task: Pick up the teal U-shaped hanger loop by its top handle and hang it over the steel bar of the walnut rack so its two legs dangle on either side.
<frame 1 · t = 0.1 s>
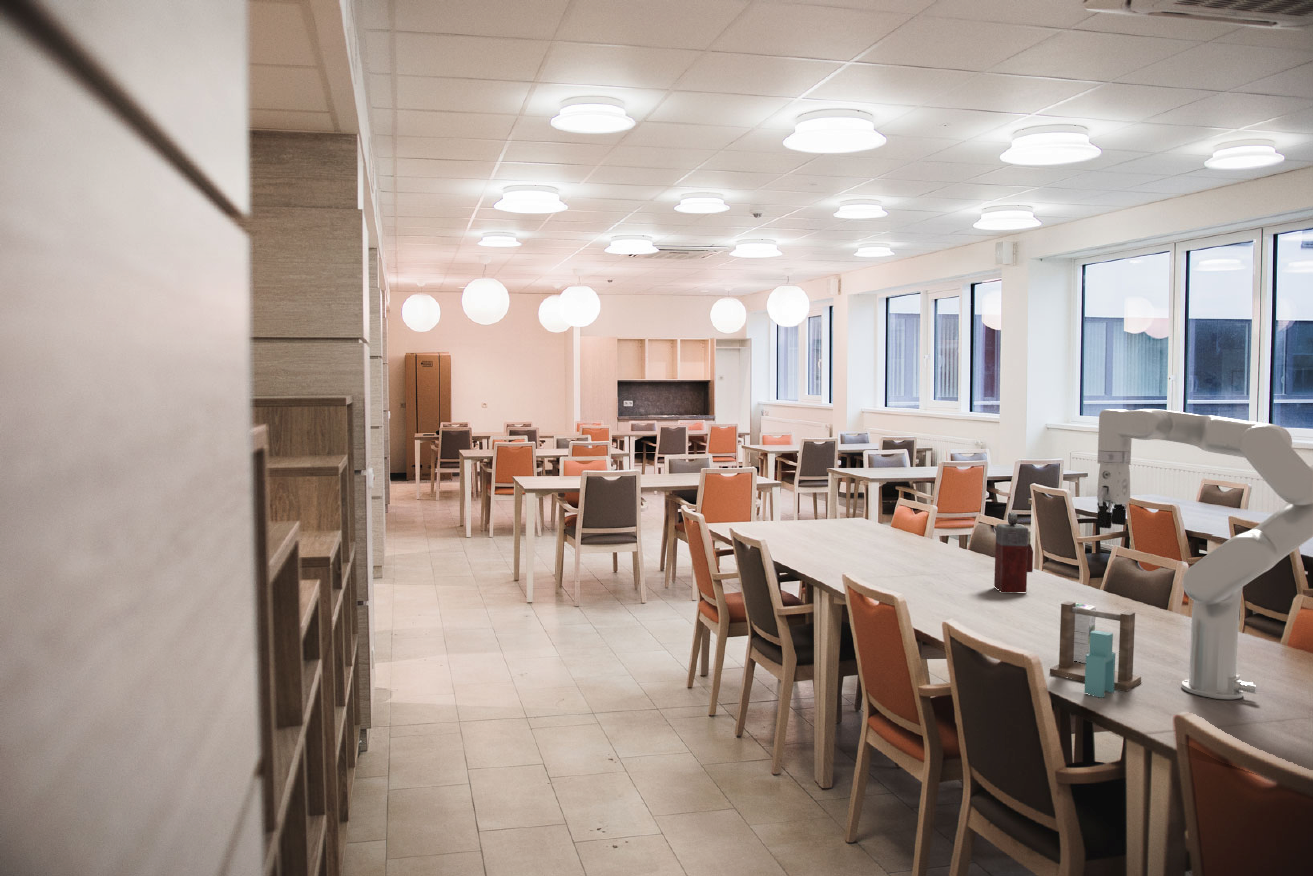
hand: (1111, 526, 237), 37 cm above the table, tool pointing down, fingers open, 9 cm apart
hanger loop: (1099, 692, 220), on the table
syrup box: (1079, 660, 247), on the table
hanger rack: (1094, 678, 231), on the table
dark red lidded canister: (1013, 591, 336), on the table
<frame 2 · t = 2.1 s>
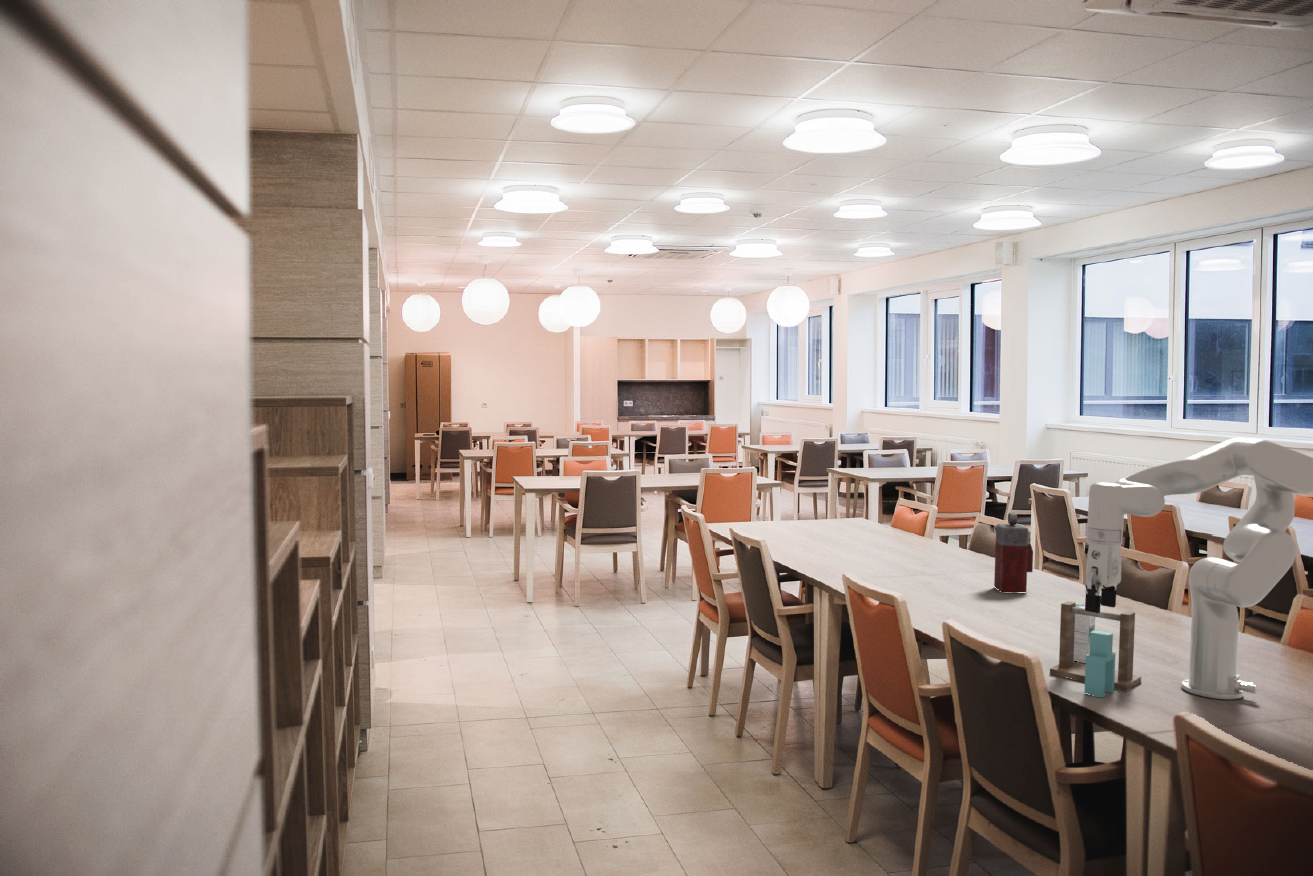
hand: (1100, 609, 219), 20 cm above the table, tool pointing down, fingers open, 9 cm apart
nothing on the table moved.
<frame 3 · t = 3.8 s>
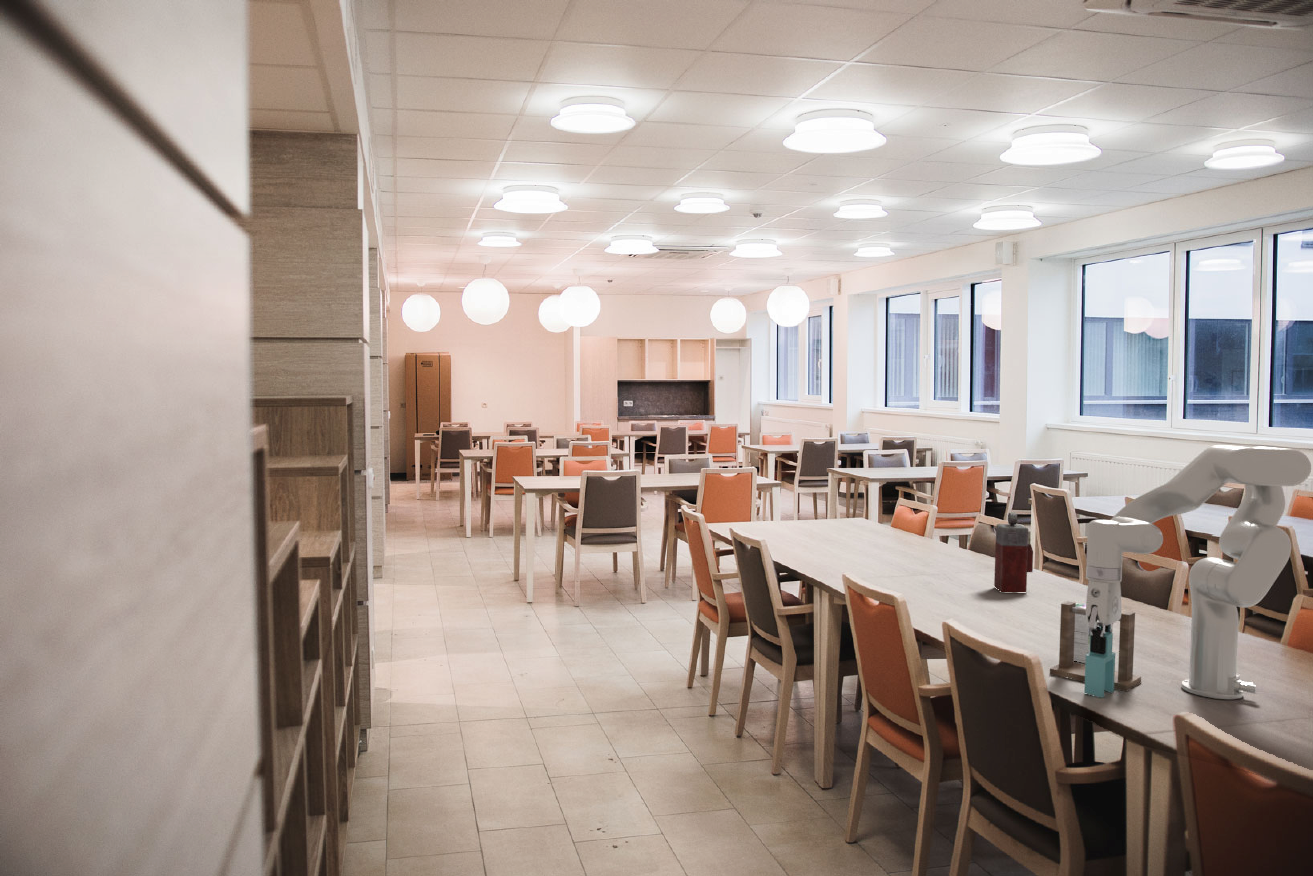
hand: (1100, 651, 219), 10 cm above the table, tool pointing down, fingers closed on hanger loop, 3 cm apart
hanger loop: (1099, 692, 220), on the table, touching gripper
everything else where it was.
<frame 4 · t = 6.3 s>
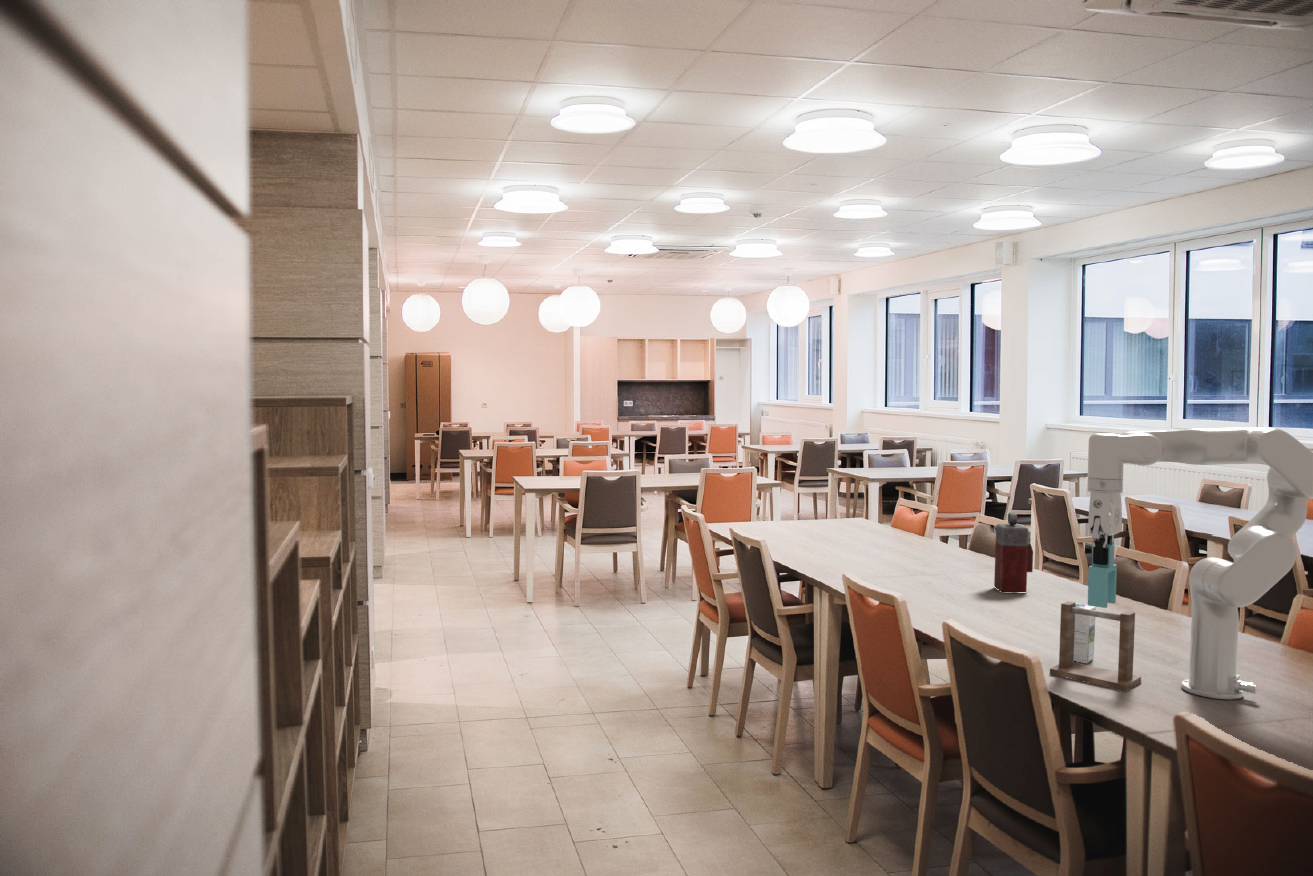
hand: (1103, 562, 223), 30 cm above the table, tool pointing down, fingers closed on hanger loop, 3 cm apart
hanger loop: (1101, 604, 223), point 20 cm above the table, touching gripper
everything else where it was.
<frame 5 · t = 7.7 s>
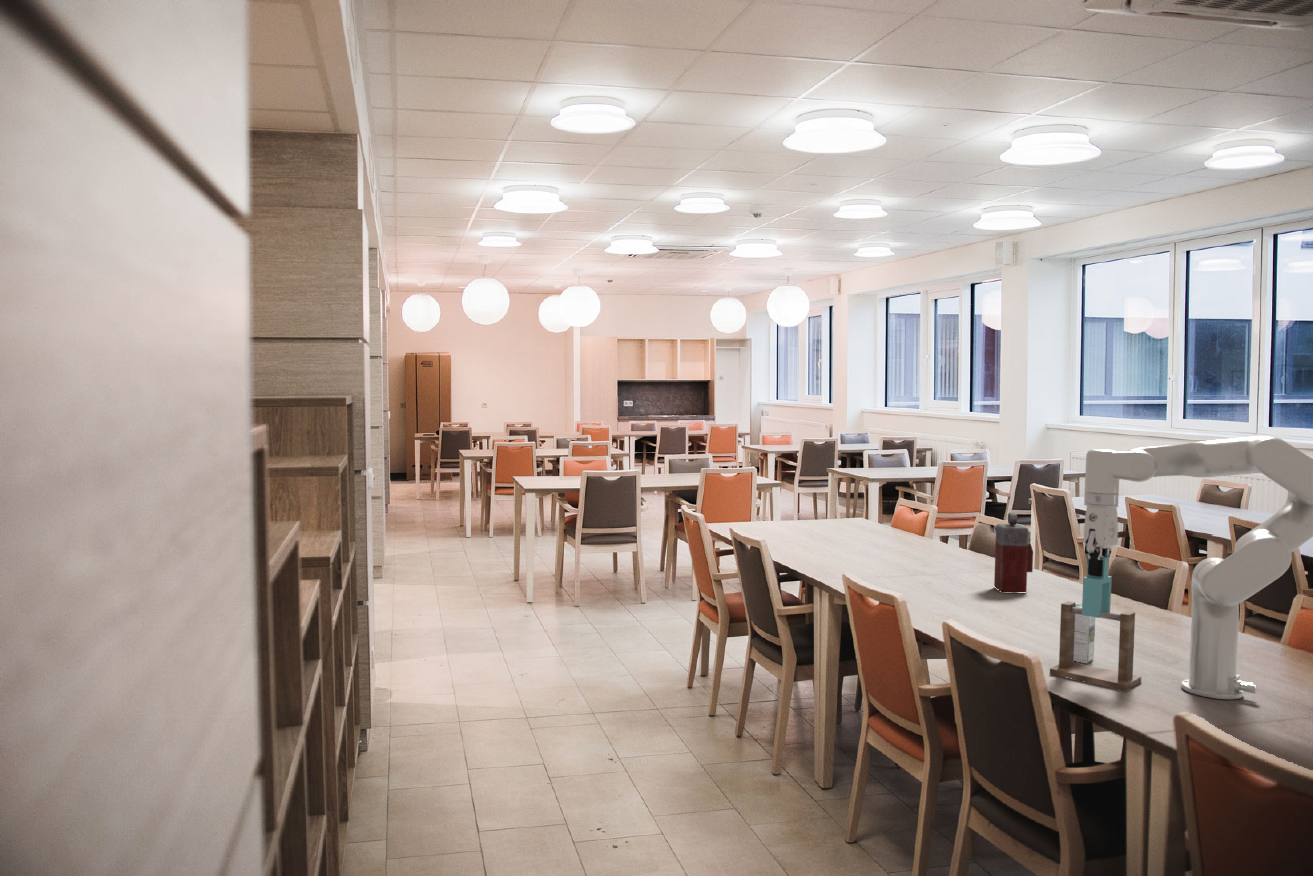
hand: (1097, 574, 230), 26 cm above the table, tool pointing down, fingers closed on hanger loop, 3 cm apart
hanger loop: (1096, 614, 231), point 16 cm above the table, touching gripper
everything else where it was.
when the fingers open (20 cm above the table, at t = 9.0 s): hanger loop stays where it is, resting on hanger rack.
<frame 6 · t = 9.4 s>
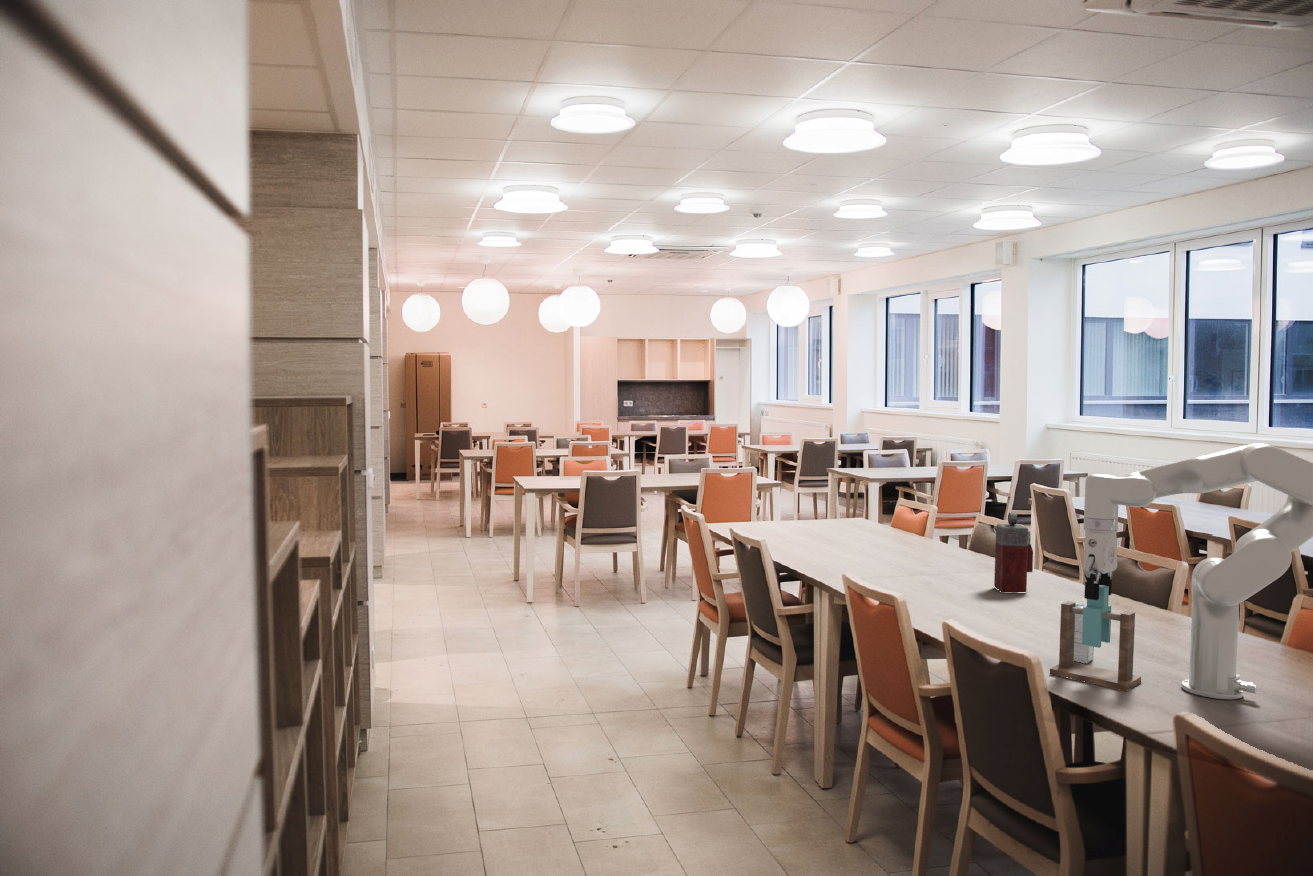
hand: (1097, 596, 230), 20 cm above the table, tool pointing down, fingers open, 7 cm apart
hanger loop: (1096, 643, 231), point 9 cm above the table, touching hanger rack
everything else where it was.
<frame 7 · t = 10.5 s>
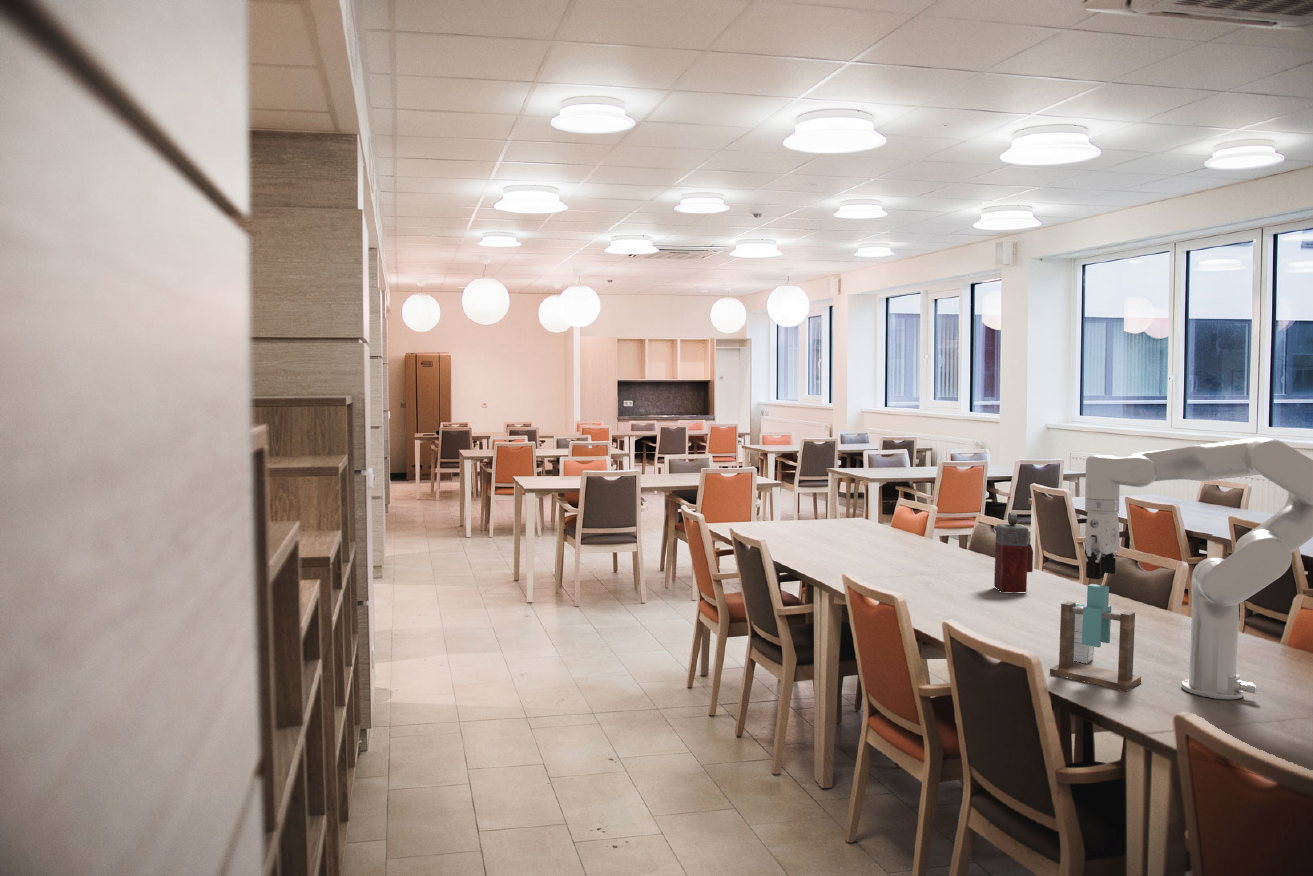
hand: (1100, 575, 230), 25 cm above the table, tool pointing down, fingers open, 9 cm apart
nothing on the table moved.
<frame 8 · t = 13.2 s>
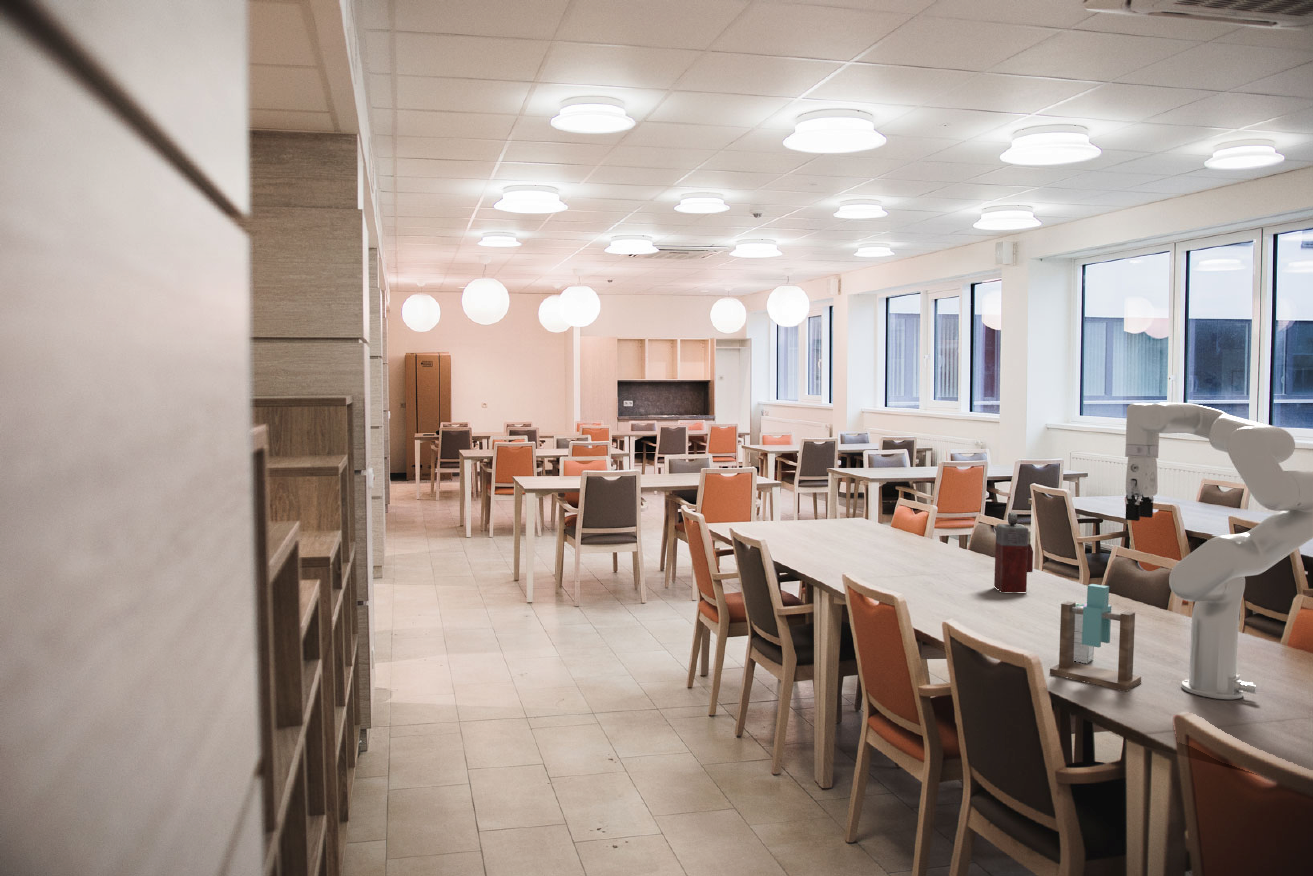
hand: (1139, 518, 240), 38 cm above the table, tool pointing down, fingers open, 9 cm apart
nothing on the table moved.
at the end: hanger loop 0.1 cm off-centre on the hanger rack, point 8.7 cm above the hanger rack's base; hanger loop touching hanger rack; the gripper is holding nothing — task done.
